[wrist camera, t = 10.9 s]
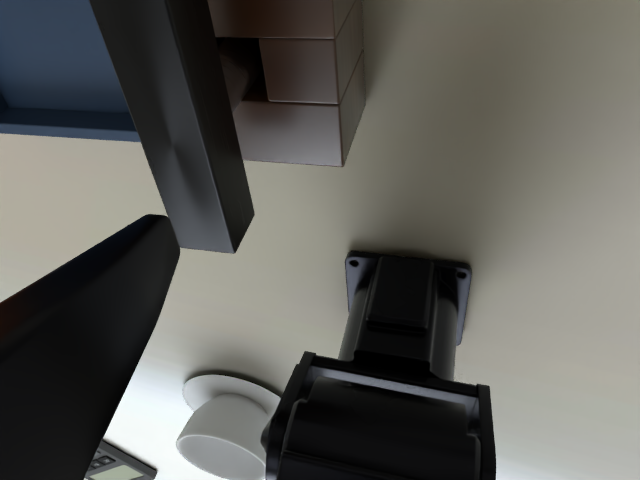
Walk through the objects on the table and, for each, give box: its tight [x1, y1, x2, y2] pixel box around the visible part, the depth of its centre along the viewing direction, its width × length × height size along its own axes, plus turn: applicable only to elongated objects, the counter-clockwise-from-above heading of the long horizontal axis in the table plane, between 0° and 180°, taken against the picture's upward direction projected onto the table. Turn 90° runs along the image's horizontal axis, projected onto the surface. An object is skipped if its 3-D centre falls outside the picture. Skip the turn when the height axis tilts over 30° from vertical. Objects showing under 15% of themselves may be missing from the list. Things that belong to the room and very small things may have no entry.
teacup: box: [176, 375, 281, 480], centre depth 42 cm, size 10×10×5 cm
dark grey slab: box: [89, 0, 263, 254], centre depth 18 cm, size 8×2×9 cm, turn 5°
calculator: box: [85, 441, 157, 480], centre depth 60 cm, size 12×1×15 cm
